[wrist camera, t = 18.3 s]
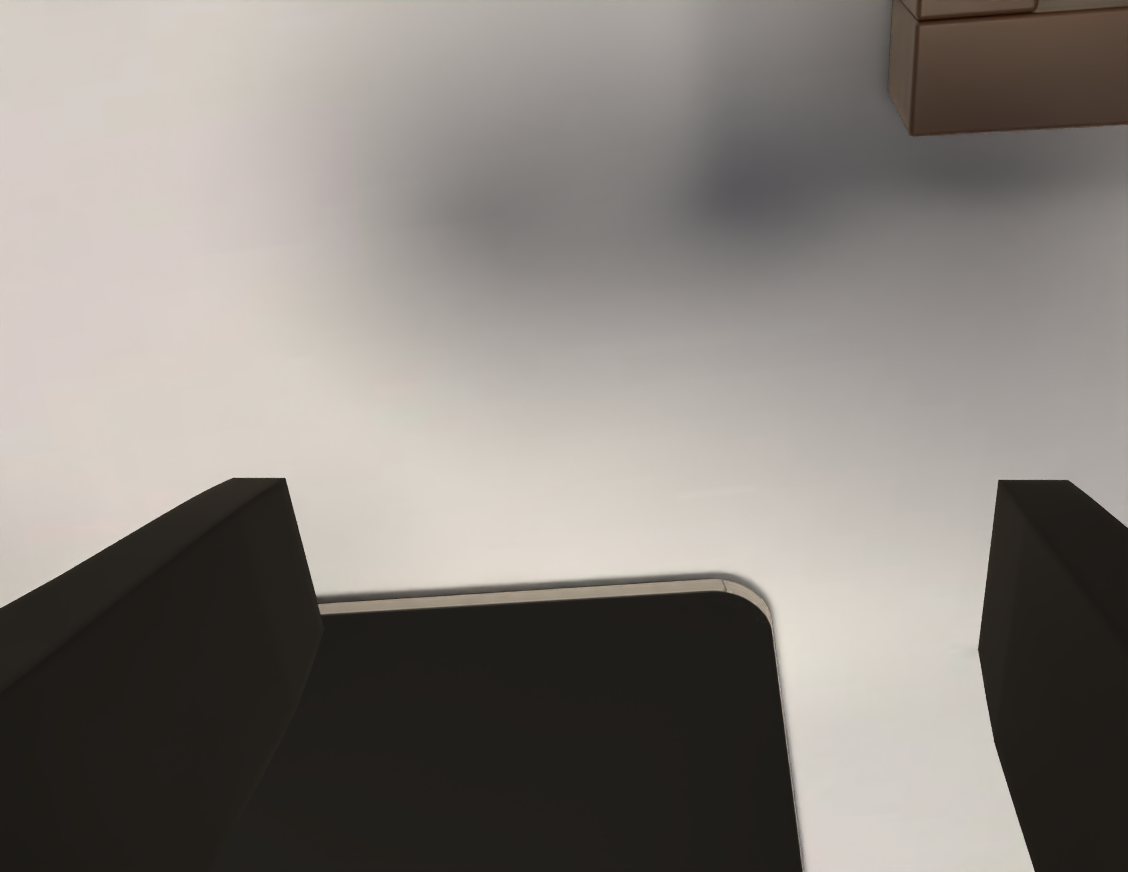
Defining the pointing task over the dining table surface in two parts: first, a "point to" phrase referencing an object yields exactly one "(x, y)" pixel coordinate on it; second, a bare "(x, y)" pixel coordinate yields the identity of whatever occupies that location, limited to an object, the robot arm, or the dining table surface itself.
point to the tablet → (534, 738)
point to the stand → (1008, 65)
